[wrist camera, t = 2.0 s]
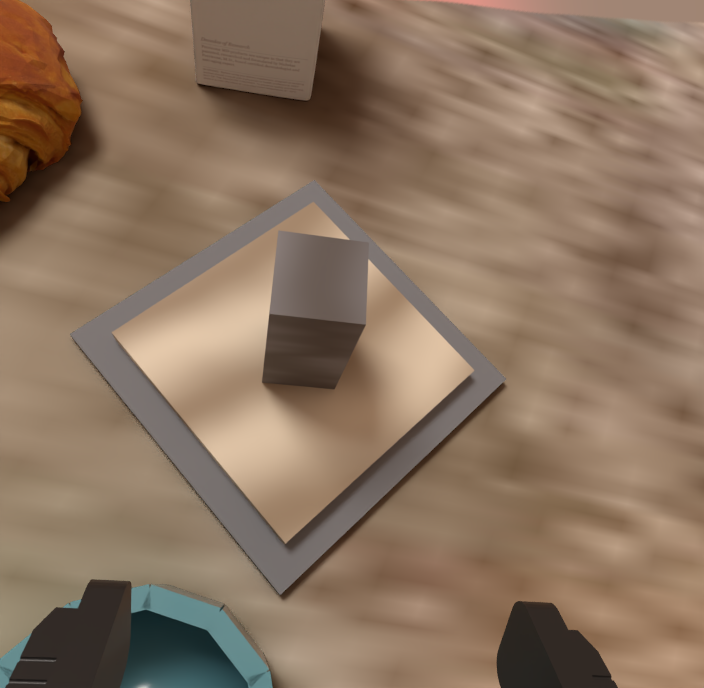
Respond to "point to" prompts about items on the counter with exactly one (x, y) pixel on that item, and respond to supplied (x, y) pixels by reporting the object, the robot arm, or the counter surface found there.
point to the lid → (294, 365)
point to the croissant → (32, 96)
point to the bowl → (179, 644)
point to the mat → (200, 466)
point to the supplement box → (257, 45)
